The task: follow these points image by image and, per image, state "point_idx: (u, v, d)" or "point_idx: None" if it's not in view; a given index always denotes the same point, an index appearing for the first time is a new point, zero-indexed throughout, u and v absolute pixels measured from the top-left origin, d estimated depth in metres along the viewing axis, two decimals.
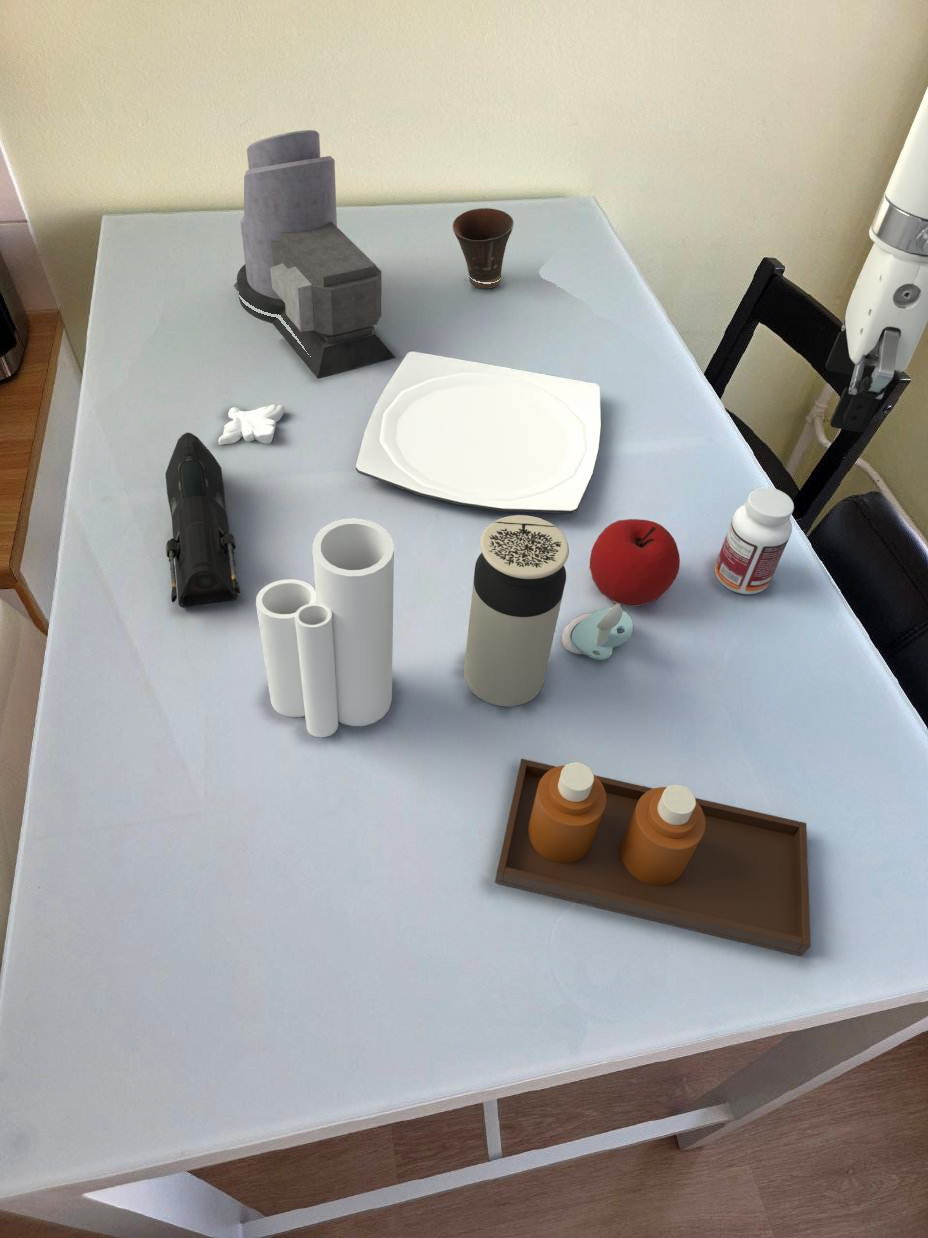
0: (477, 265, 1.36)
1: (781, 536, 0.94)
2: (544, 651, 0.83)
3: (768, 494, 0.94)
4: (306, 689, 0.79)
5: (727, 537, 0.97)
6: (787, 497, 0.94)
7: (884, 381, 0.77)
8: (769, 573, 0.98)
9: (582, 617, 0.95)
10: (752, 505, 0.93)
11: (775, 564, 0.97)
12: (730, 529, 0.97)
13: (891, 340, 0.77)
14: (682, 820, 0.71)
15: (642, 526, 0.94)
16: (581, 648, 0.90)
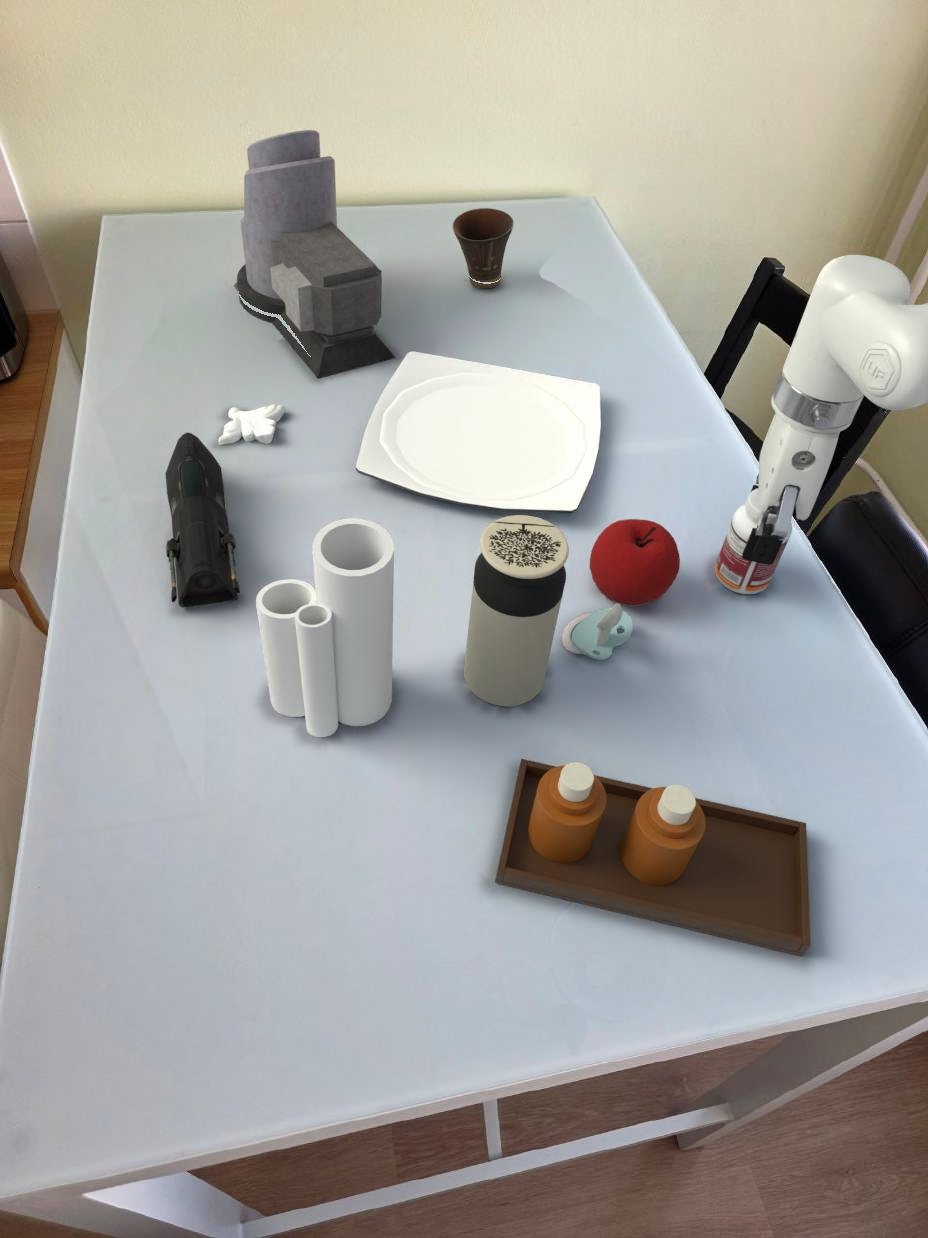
0: (477, 265, 1.36)
1: None
2: (544, 651, 0.83)
3: None
4: (306, 689, 0.79)
5: (727, 537, 0.97)
6: None
7: (780, 536, 0.87)
8: (769, 573, 0.98)
9: (582, 617, 0.95)
10: (752, 505, 0.93)
11: (775, 564, 0.97)
12: (730, 529, 0.97)
13: (789, 500, 0.86)
14: (682, 820, 0.71)
15: (642, 527, 0.94)
16: (581, 648, 0.90)
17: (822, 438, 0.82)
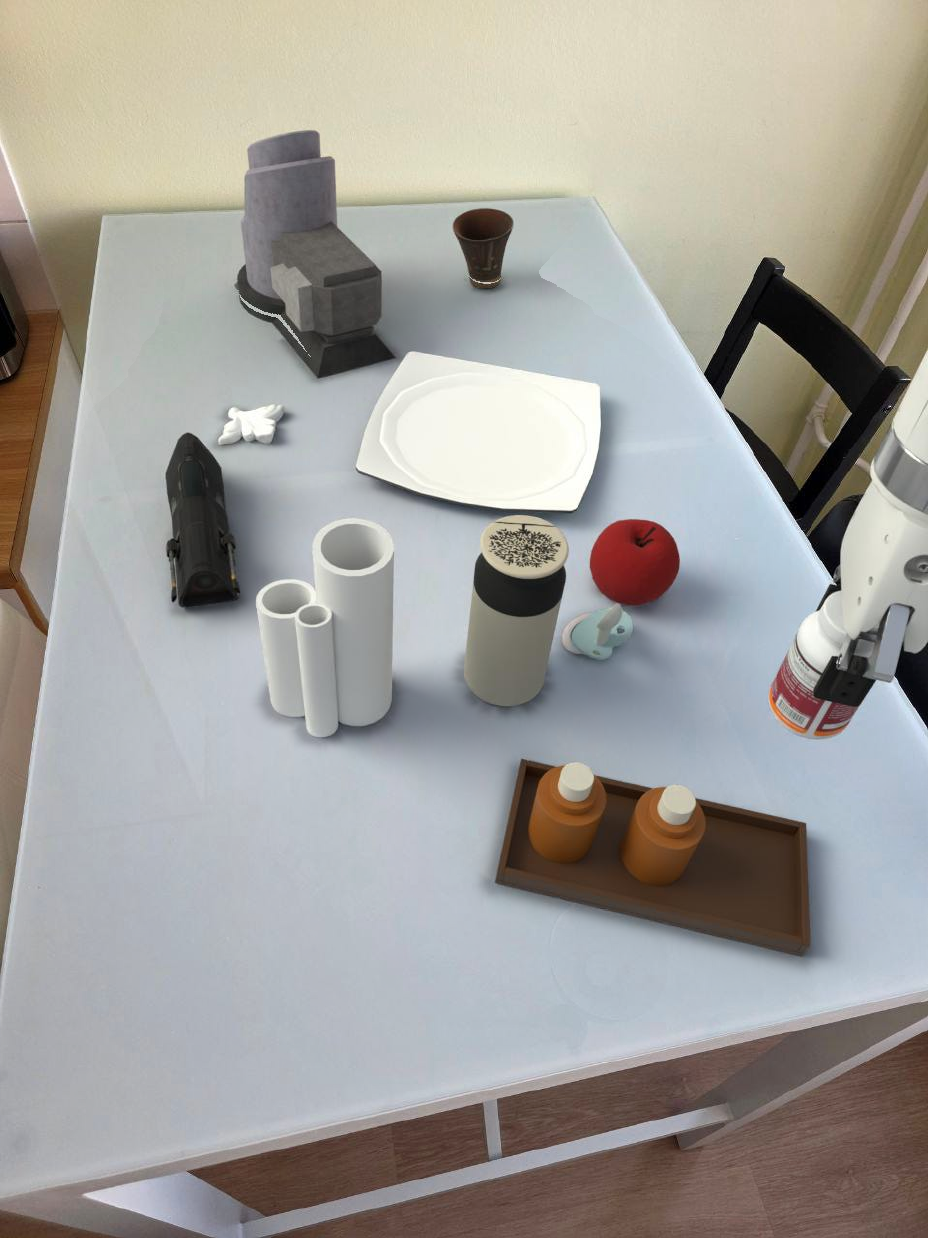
0: (477, 265, 1.36)
1: None
2: (544, 651, 0.83)
3: None
4: (306, 689, 0.79)
5: (789, 659, 0.66)
6: None
7: None
8: (851, 713, 0.66)
9: (582, 617, 0.95)
10: (830, 620, 0.62)
11: None
12: (794, 649, 0.65)
13: (896, 627, 0.55)
14: (682, 820, 0.71)
15: (642, 526, 0.94)
16: (581, 648, 0.90)
17: None
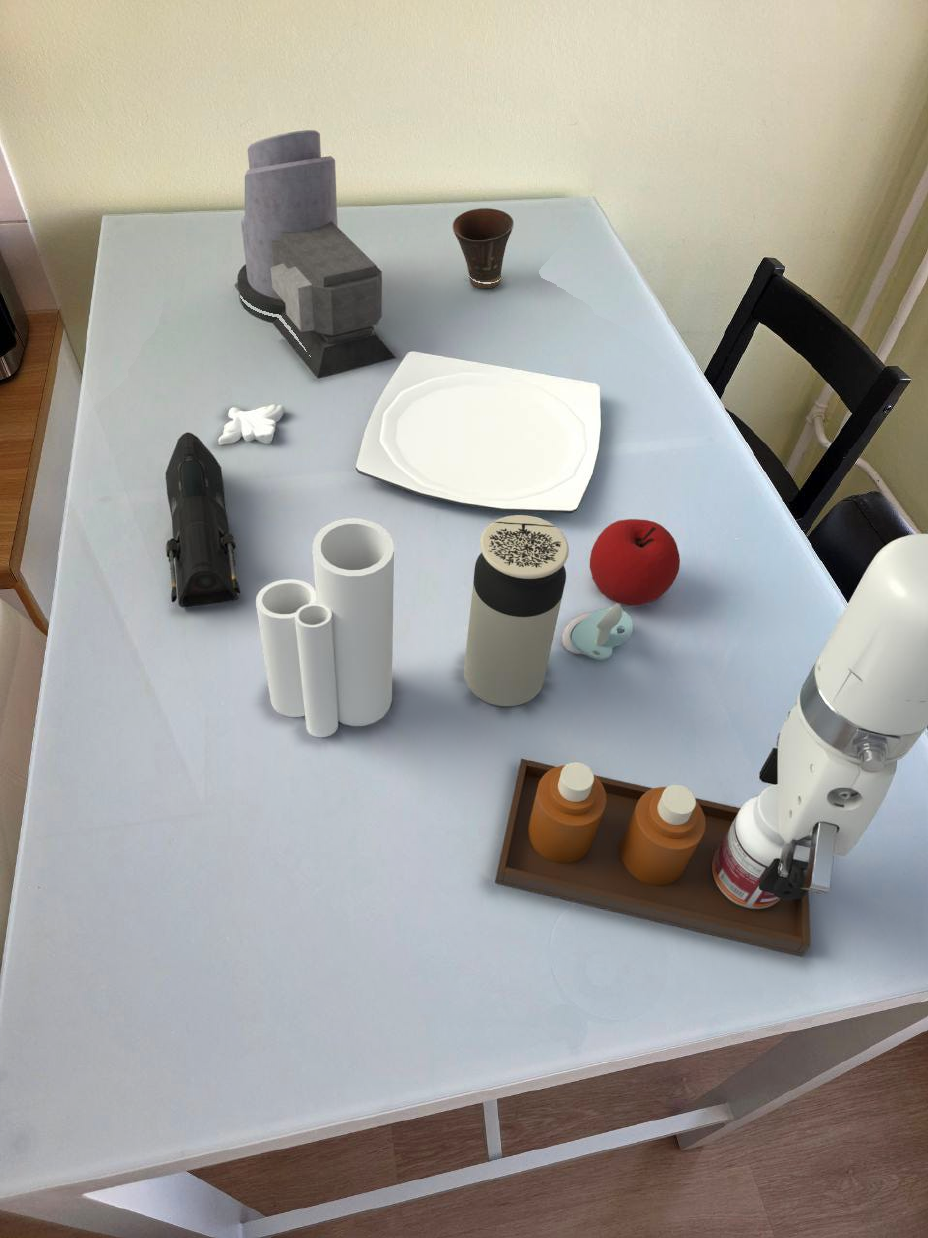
0: (477, 265, 1.36)
1: (802, 856, 0.69)
2: (544, 651, 0.83)
3: None
4: (306, 689, 0.79)
5: (729, 841, 0.72)
6: None
7: (818, 892, 0.60)
8: None
9: (582, 617, 0.95)
10: (764, 818, 0.68)
11: None
12: (733, 834, 0.72)
13: (827, 840, 0.60)
14: (682, 820, 0.71)
15: (642, 526, 0.94)
16: (581, 648, 0.90)
17: (872, 775, 0.56)
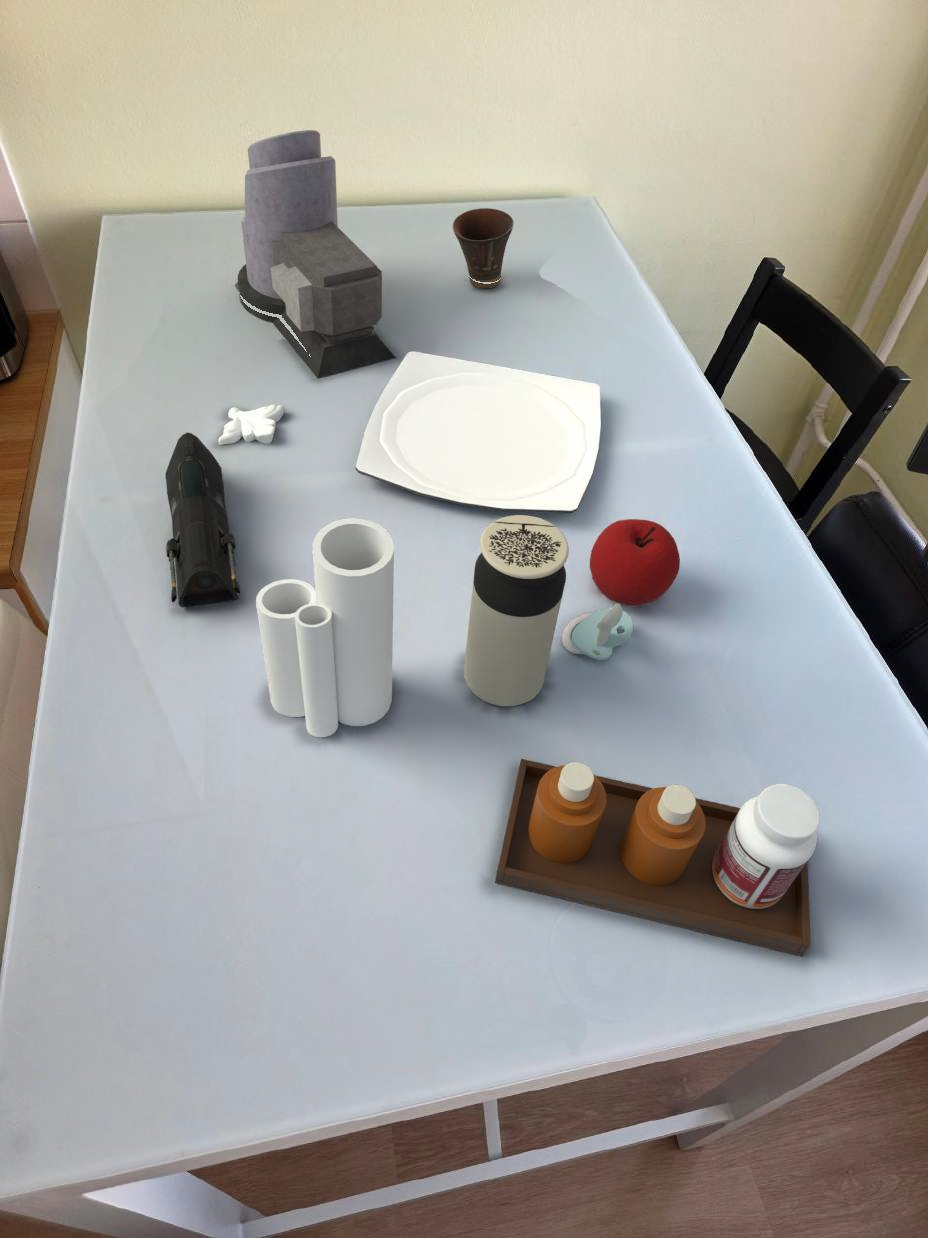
0: (477, 265, 1.36)
1: (802, 856, 0.69)
2: (544, 651, 0.83)
3: (785, 797, 0.69)
4: (306, 689, 0.79)
5: (729, 841, 0.72)
6: (811, 801, 0.69)
7: None
8: (786, 889, 0.73)
9: (582, 617, 0.95)
10: (763, 818, 0.68)
11: (793, 879, 0.72)
12: (733, 834, 0.72)
13: None
14: (682, 820, 0.71)
15: (642, 526, 0.94)
16: (581, 648, 0.90)
17: None
